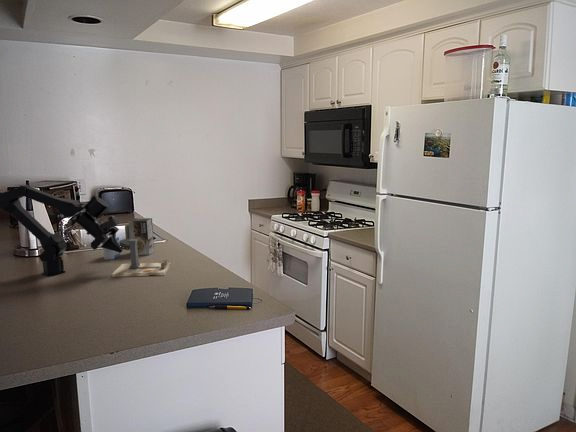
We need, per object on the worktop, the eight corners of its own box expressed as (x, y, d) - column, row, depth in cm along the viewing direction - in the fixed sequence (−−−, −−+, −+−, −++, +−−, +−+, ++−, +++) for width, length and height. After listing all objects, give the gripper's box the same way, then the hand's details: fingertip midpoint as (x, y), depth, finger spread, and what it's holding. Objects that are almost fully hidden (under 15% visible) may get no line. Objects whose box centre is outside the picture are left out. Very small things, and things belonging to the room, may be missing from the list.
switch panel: (112, 276, 177) (111, 267, 176) (122, 266, 191) (121, 258, 190) (164, 275, 178) (164, 266, 178) (171, 265, 192) (170, 257, 191)
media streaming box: (115, 245, 229) (115, 240, 229) (142, 241, 240) (142, 235, 239) (129, 250, 219) (128, 244, 219) (156, 245, 230) (156, 239, 229)
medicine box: (113, 259, 202) (112, 240, 200) (103, 259, 202) (102, 240, 201) (120, 255, 210) (119, 236, 208) (111, 255, 210) (109, 236, 208)
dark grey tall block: (129, 268, 182) (127, 241, 180) (132, 265, 186) (130, 238, 184) (137, 268, 182) (135, 240, 180) (140, 265, 186) (138, 238, 184)
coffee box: (154, 251, 216) (152, 218, 213) (149, 255, 209) (147, 220, 207) (136, 251, 217) (133, 217, 214) (130, 254, 210) (127, 220, 207)
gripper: (96, 214, 170) (128, 242, 173) (112, 207, 189) (141, 232, 191) (76, 235, 171) (109, 263, 174) (94, 226, 189) (123, 251, 192)
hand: (121, 251), depth 183 cm, fingers closed
